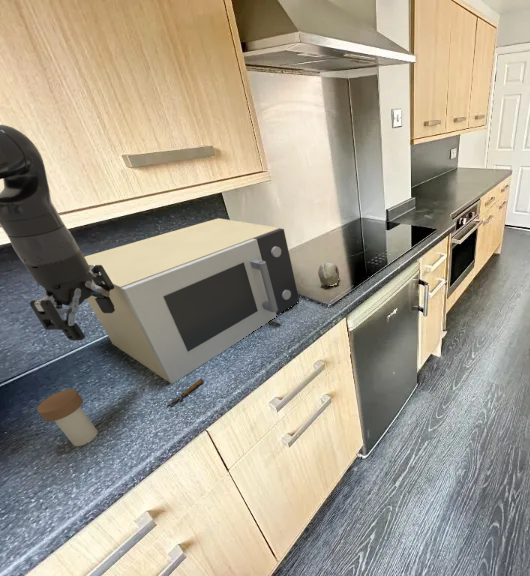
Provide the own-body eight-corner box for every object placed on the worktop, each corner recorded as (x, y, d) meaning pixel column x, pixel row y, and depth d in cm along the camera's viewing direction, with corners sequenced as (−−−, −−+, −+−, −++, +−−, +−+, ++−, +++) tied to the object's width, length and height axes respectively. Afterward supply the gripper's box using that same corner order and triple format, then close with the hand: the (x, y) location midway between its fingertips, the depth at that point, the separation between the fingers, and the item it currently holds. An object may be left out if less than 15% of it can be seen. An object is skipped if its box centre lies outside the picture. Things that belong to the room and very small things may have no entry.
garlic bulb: (328, 295, 120) (319, 276, 113) (317, 284, 125) (308, 266, 118) (348, 281, 123) (340, 262, 116) (336, 271, 128) (328, 253, 121)
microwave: (301, 303, 110) (285, 228, 98) (173, 385, 78) (125, 289, 66) (238, 283, 128) (218, 218, 115) (112, 344, 96) (65, 262, 83)
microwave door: (287, 321, 101) (268, 241, 88) (182, 391, 76) (135, 294, 63) (273, 316, 104) (253, 238, 91) (168, 381, 79) (120, 287, 67)
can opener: (201, 380, 79) (200, 377, 78) (207, 384, 78) (205, 380, 77) (164, 406, 72) (162, 403, 71) (169, 410, 71) (167, 406, 70)
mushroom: (60, 453, 63) (28, 415, 58) (79, 428, 68) (51, 392, 63) (92, 447, 64) (63, 409, 59) (109, 423, 69) (83, 386, 64)
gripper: (62, 236, 61) (100, 304, 70) (-13, 273, 49) (45, 350, 58) (102, 237, 62) (135, 304, 70) (38, 273, 50) (88, 349, 58)
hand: (94, 325), depth 64 cm, fingers open, 8 cm apart
